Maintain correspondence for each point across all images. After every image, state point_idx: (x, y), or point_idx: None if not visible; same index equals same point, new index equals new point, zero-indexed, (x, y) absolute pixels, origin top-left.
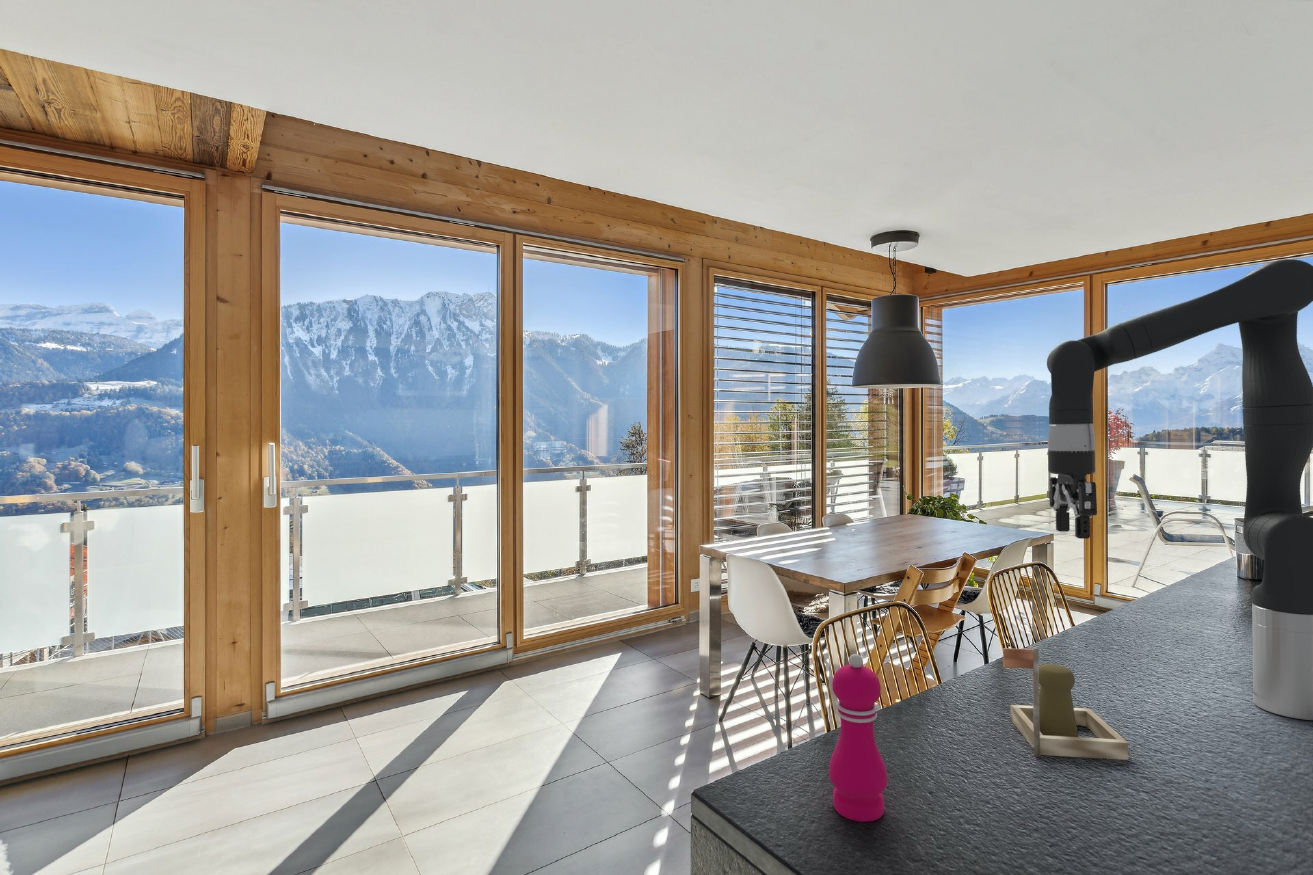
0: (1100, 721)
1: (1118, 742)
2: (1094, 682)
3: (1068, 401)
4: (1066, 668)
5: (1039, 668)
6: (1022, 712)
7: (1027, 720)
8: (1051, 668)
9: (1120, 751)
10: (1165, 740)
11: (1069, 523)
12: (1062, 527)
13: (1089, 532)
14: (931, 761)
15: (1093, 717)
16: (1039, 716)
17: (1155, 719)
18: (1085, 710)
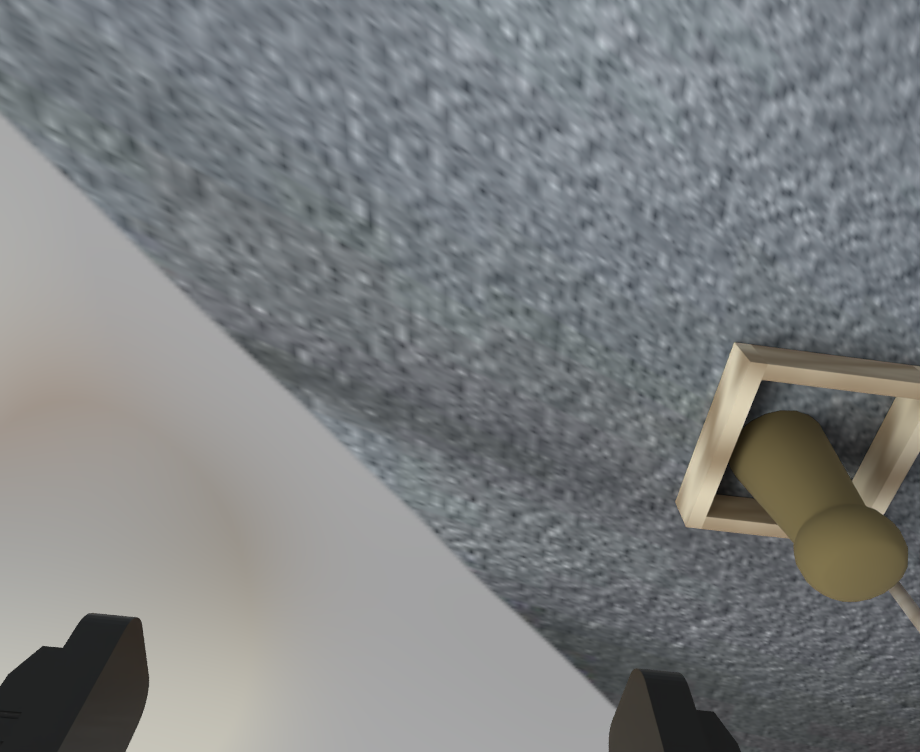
0: (832, 381)
1: None
2: (429, 138)
3: None
4: (882, 552)
5: (839, 600)
6: (733, 520)
7: (779, 530)
8: (875, 590)
9: None
10: (873, 207)
11: (86, 693)
12: (124, 701)
13: (737, 749)
14: (812, 679)
15: (804, 383)
16: (903, 587)
17: (747, 136)
18: (759, 379)
